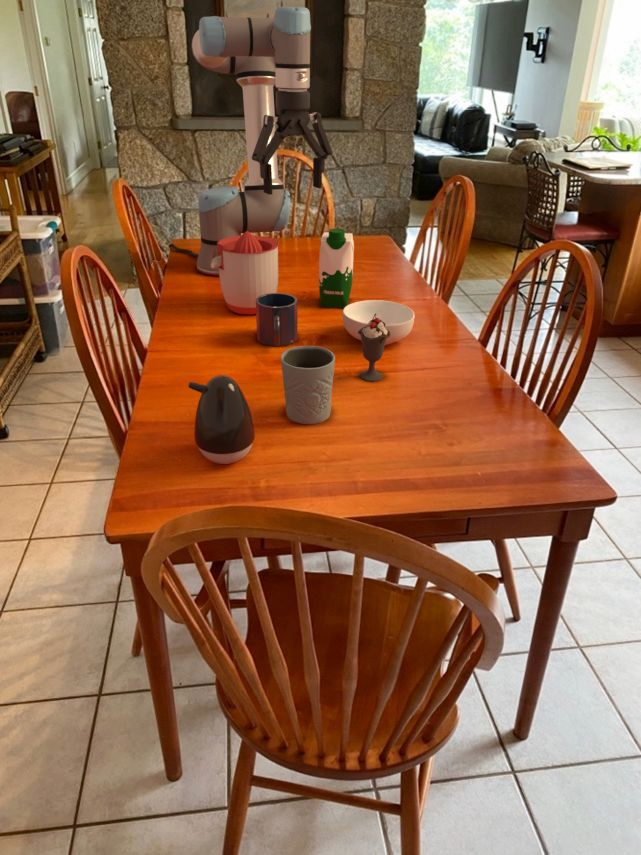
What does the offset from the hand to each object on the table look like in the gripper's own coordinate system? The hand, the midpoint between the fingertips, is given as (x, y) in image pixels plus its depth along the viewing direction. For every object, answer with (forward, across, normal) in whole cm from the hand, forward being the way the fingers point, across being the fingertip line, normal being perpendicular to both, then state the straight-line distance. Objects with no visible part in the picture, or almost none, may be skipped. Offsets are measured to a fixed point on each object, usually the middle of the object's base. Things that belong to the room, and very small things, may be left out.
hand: (293, 190), depth 157 cm
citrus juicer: (+31, -9, +9) cm, 33 cm away
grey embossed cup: (+31, -25, -46) cm, 61 cm away
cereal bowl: (+31, +8, -25) cm, 40 cm away
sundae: (+31, -5, -40) cm, 51 cm away
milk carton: (+31, +13, 0) cm, 33 cm away
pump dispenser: (+30, -45, -51) cm, 74 cm away
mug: (+31, -13, -14) cm, 36 cm away
